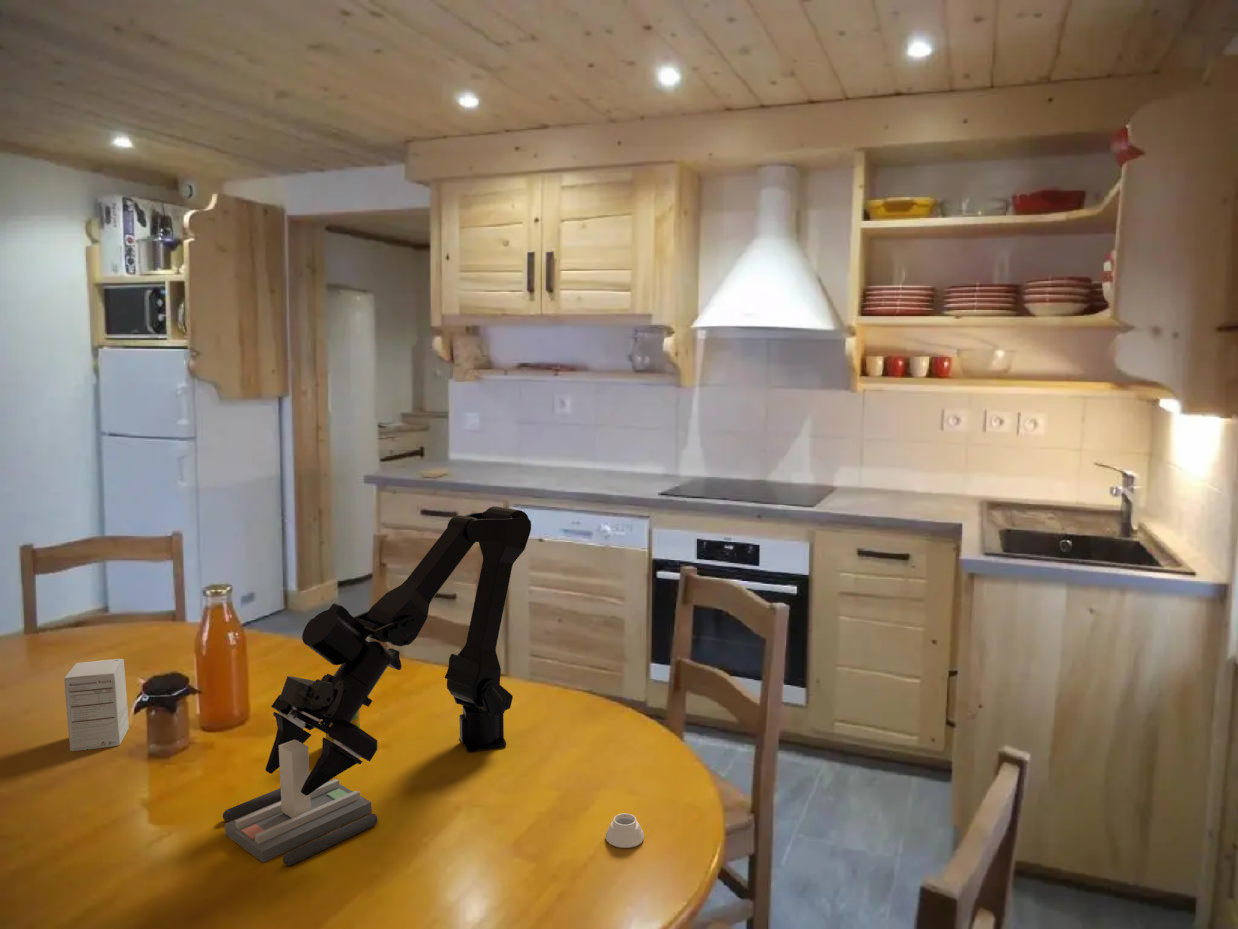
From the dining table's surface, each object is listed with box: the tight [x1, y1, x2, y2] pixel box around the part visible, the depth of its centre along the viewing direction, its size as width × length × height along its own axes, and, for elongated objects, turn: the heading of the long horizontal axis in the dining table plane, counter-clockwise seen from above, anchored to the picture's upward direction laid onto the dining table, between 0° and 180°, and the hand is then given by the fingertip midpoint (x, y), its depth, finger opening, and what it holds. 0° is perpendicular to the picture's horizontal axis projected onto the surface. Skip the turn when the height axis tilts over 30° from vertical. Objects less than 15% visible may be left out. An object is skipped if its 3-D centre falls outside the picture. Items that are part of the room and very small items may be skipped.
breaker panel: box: [224, 778, 373, 863], centre depth 118 cm, size 16×10×2 cm, turn 140°
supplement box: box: [63, 658, 130, 752], centre depth 143 cm, size 7×7×13 cm
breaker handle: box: [279, 740, 311, 818], centre depth 117 cm, size 2×3×10 cm
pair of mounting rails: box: [222, 787, 379, 867], centre depth 118 cm, size 14×18×2 cm
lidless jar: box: [605, 812, 645, 849], centre depth 115 cm, size 5×3×5 cm
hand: (285, 782), depth 116 cm, fingers open, 9 cm apart
